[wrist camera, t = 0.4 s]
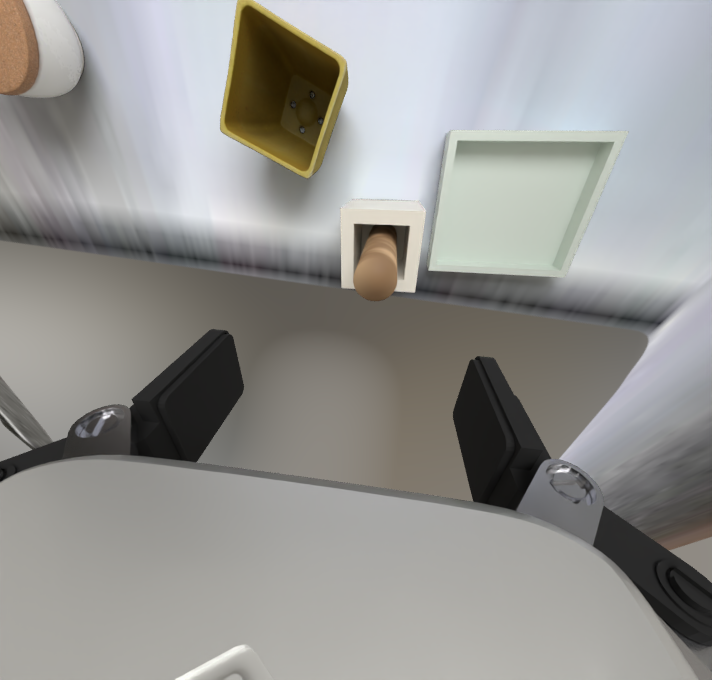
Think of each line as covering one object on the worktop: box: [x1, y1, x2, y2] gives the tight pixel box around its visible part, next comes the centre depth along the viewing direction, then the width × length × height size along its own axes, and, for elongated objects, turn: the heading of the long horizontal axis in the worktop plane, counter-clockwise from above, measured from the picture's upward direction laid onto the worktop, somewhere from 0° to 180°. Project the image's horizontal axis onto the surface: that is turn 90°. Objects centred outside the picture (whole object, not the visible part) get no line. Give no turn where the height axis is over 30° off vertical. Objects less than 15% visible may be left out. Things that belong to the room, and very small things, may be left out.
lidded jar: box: [0, 0, 84, 98], centre depth 25 cm, size 11×11×9 cm
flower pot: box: [220, 0, 348, 179], centre depth 26 cm, size 9×9×9 cm
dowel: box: [353, 224, 397, 301], centre depth 28 cm, size 3×3×16 cm
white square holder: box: [340, 199, 426, 292], centre depth 32 cm, size 8×8×9 cm
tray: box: [427, 130, 629, 278], centre depth 31 cm, size 16×14×3 cm
